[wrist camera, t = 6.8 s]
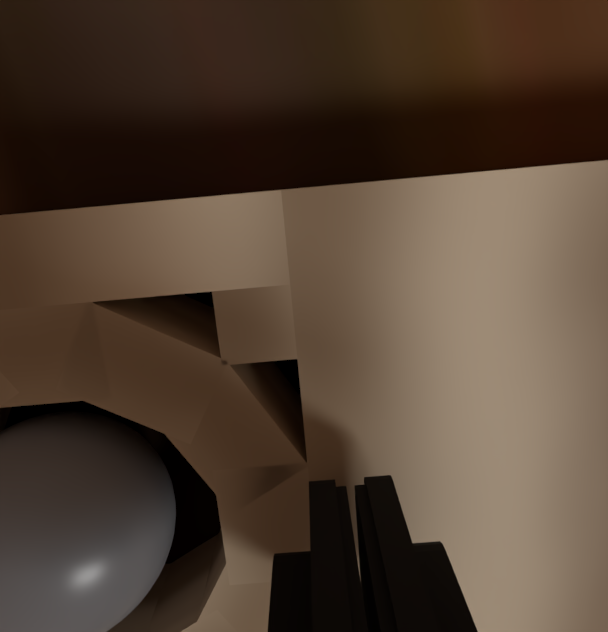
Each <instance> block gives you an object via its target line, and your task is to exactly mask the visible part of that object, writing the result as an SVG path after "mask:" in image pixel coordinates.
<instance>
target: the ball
mask: <svg viewBox="0 0 608 632" xmlns="http://www.w3.org/2000/svg"><path fill="white" fill-rule="evenodd" d="M175 520H176V502H175V496H174V490H173V485H172V481H171V479H170V476H169V473H168V471H167V468H166V466H165V464H164V463H163V461H162V459H161V457H160V456H159V454H158V453H157V452H156V450H155V449H154V448H153V447H152V445H151V444H150V443H149V442H148V441H147V440H146V439H145V438H144V437H143V436H142V435H140V434H139V433H138V432H136V431H135V430H133V429H132V428H130V427H129V426H127V425H125V424H123V423H121V422H119V421H117V420H115V419H113V418H109V417H106V416H103V415H99V414H93V413H88V412H74V411H69V412H55V413H49V414H44V415H40V416H36V417H33V418H29V419H27V420H24V421H22V422H19V423H17V424H14V425H12V426H10V427H8V428H7V429H5V430H3V431H1V432H0V632H107V631H108V630H110V629H111V628H112V627H114V626H115V625H116V624H118V623H119V622H121V621H122V620H123V619H124V618H125V617H126V616H127V615H129V614H130V613H131V612H132V611H133V610H134V609H135V608H136V607H137V606H138V605H139V604H140V602H141V601H142V600H143V599H144V597H145V596H146V595H147V594H148V592H149V591H150V589H151V588H152V586H153V585H154V583H155V581H156V580H157V578H158V577H159V575H160V573H161V571H162V569H163V567H164V565H165V562H166V560H167V557H168V554H169V551H170V548H171V545H172V541H173V537H174V531H175Z"/></svg>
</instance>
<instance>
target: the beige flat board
mask: <svg viewBox="0 0 608 632" xmlns="http://www.w3.org/2000/svg"><path fill="white" fill-rule="evenodd" d="M211 291H212V296H213V304H214V308H213V307H210V306H208V305H206V304H204V303H201V302H199V301H197V300H195V299H192V298H190V297H188V296H186V295H183V294H188V293H200V292H211ZM291 359H297V360H298V371H299V381H300V391H301V397H300V395H299V394H298V393H297V391H296V390H295V389H294V387H293V386H292V385H291V383H290V382H289V381H288V379H287V378H286V377H285V375H284V374H283V373H282V371H281V370H280V369H279V368H278V366H277V365H276V364H275V362H274V361H279V360H291ZM74 401H85V402H88V403H90V404H93V405H95V406H97V407H100V408H102V409H105V410H107V411H110V412H112V413H115V414H117V415H120V416H122V417H124V418H127V419H129V420H132V421H134V422H137V423H139V424H142V425H144V426H147V427H149V428H152V429H154V430H156V431H159V432H161V433H164V434H165V435H166V436H167V437H168V439H169V440H170V441H171V442H172V443H173V445H174V446H175V447H176V448H177V449H178V450H179V452H180V453H181V454H182V455H183V456H184V457H185V459H186V460H187V461H188V462H189V463H190V465H191V466H192V467H193V468H194V469H195V470H196V472H197V473H198V474H199V475H200V476H201V477H202V479H203V480H204V481H205V482H206V483H207V485H208V486H209V487H210V488H211V489H212V490H213V492H214V493H215V494H216V498H217V504H218V511H219V518H220V524H221V529H220V531H219V533H218V534H217V535H215V536H214V537H212V538H211V539H209V540H207V541H206V542H204V543H203V544H201V545H199V546H198V547H196V548H195V549H193V550H191V551H190V552H188V553H187V554H185V555H183V556H182V557H180V558H179V559H177V560H175V561H174V562H172V563H170V564H165V565H164V567H163V569H162V571H161V573H160V575H159V577H158V578H157V580H156V581H155V583H154V585H153V586H152V588H151V589H150V591H149V592H148V594H147V595H146V596H145V597H144V599H143V600H142V601H141V602H140V604H139V605H138V606H137V607H136V608H135V609H134V610H133V611H132V612H131V613H130V614H129V615H127V616H126V617H125V618H124V619H123V620H122V621H121V622H119V623H118V624H116V625H115V626H114V627H112V628H111V629H110V630H108V631H107V632H268V619H269V606H270V592H271V579H272V566H273V556H274V554H276V553H289V552H303V551H310V515H309V481H319V480H332V479H335V483H336V487H338V486H346V488H347V494H348V501H349V508H350V514H351V521H352V528H353V534H354V541H355V548H356V555H357V561H358V568H359V575H360V565H359V550H358V535H357V520H356V504H355V488H354V486H355V485H364V477H371V476H384V475H391V476H392V479H393V482H394V485H395V488H396V492H397V495H398V498H399V501H400V505H401V508H402V511H403V514H404V517H405V521H406V524H407V527H408V530H409V534H410V537H411V540H412V543H423V542H436V541H440V542H441V543H442V544H443V546H444V548H445V550H446V552H447V555H448V557H449V560H450V563H451V565H452V568H453V570H454V573H455V575H456V578H457V580H458V583H459V585H460V588H461V590H462V593H463V595H464V598H465V600H466V603H467V606H468V608H469V611H470V613H471V616H472V618H473V621H474V623H475V626H476V628H477V631H478V632H608V160H599V161H588V162H577V163H566V164H555V165H544V166H533V167H522V168H511V169H500V170H489V171H478V172H467V173H456V174H445V175H434V176H423V177H412V178H401V179H390V180H379V181H368V182H357V183H346V184H335V185H324V186H313V187H302V188H291V189H280V190H269V191H258V192H247V193H236V194H225V195H214V196H204V197H193V198H182V199H171V200H160V201H149V202H138V203H127V204H116V205H105V206H94V207H83V208H72V209H61V210H50V211H39V212H28V213H17V214H6V215H0V432H1V431H3V430H4V428H5V425H6V422H7V419H8V416H9V414H10V411H11V408H12V407H15V406H27V405H39V404H51V403H62V402H74ZM360 581H361V580H360Z"/></svg>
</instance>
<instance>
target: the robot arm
mask: <svg viewBox="0 0 608 632" xmlns="http://www.w3.org/2000/svg"><path fill="white" fill-rule="evenodd" d="M354 488H355V504H356V520H357V535H358V550H359V565H360V575H359V568H358V561H357V555H356V548H355V541H354V534H353V528H352V521H351V514H350V508H349V501H348V494H347V488H346V486H338V487H336V483H335V479H332V480H319V481H309V515H310V551H303V552H289V553H276V554H274V556H273V566H272V579H271V592H270V606H269V619H268V632H478V631H477V628H476V626H475V623H474V621H473V618H472V616H471V613H470V611H469V608H468V606H467V603H466V600H465V598H464V595H463V593H462V590H461V588H460V585H459V583H458V580H457V578H456V575H455V573H454V570H453V568H452V565H451V563H450V560H449V557H448V555H447V552H446V550H445V548H444V546H443V544H442V543H441V542H440V541H436V542H423V543H412V540H411V537H410V534H409V530H408V527H407V524H406V521H405V517H404V514H403V511H402V508H401V505H400V501H399V498H398V495H397V492H396V488H395V485H394V482H393V479H392V476H391V475H384V476H371V477H364V485H355V486H354ZM360 580H361V581H360Z"/></svg>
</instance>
